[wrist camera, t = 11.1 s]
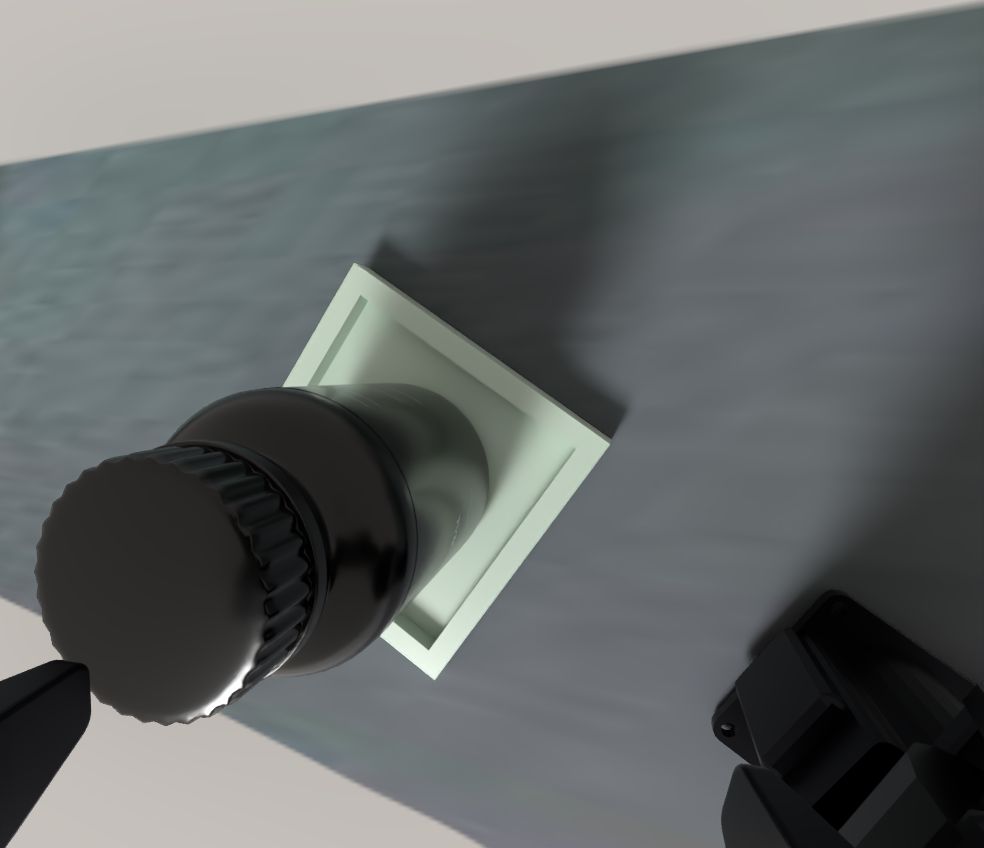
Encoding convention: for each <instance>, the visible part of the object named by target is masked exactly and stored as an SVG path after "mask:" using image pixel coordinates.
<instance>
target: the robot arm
mask: <svg viewBox="0 0 984 848" xmlns="http://www.w3.org/2000/svg"><path fill="white" fill-rule="evenodd" d="M836 602H843V603H844V608H843V610H841V611H840V612H832V611H831V607H832V605H833V604H835V603H836ZM735 686H736V690H735V691H734V692H733V694H732V695H731V696H730V697H729V698H728V699H727V700H726V701H725V702H724V703H723V705H722V706H721V707H720V708H719V709H718V710H717V711H716V712H715V713H714V715H713V717H712V728H713V731H714V734H715V736H716V737H717V738H718V739H719V740H720V741H721V742H722V743H723V744H725V745H726V746H727V747H729V748H730V749H731V750H733V751H734V752H735V753H737V754H738V755H739V756H740V757H742V758H743V759H744V760H746V761H747V762H748V763H750V764H751V765H749V764H739V765H737V766H736V768H735V769H734V772H733V774H732V778H731V781H730V785H729V788H728V791H727V795H726V798H725V802H724V805H723V809H722V815H721V825H722V832H723V837H724V842H725V847H726V848H984V686H982V685H981V684H978V683H977V684H974V683H973V682H972V681H970V680H969V679H967V678H966V677H964V676H963V675H962V674H960V673H959V672H957V671H956V670H955V669H953V668H952V667H950V666H949V665H947V664H946V663H945V662H943V661H942V660H940V659H939V658H937V657H936V656H935V655H933V654H932V653H930V652H929V651H928V650H926V649H925V648H923V647H922V646H920V645H919V644H918V643H916V642H915V641H913V640H912V639H911V638H909V637H908V636H906V635H905V634H903V633H902V632H901V631H899V630H898V629H896V628H895V627H893V626H892V625H891V624H889V623H888V622H886V621H885V620H884V619H882V618H881V617H879V616H878V615H876V614H875V613H874V612H872V611H871V610H869V609H868V608H866V607H865V606H864V605H862V604H861V603H859V602H858V601H857V600H855V599H854V598H852V597H851V596H849V595H848V594H847V593H845V592H843V591H840V590H830V591H827V592H825V593H824V594H823V595H822V596H821V597H820V598H819V599H818V600H817V601H816V602H815V603H814V604H813V605H812V607H811V608H810V609H809V610H808V611H807V612H806V613H805V614H804V615H803V616H802V618H801V619H800V620H799V621H798V622H797V623H796V624H795V625H794V626H793V628H792V629H786V630H782V631H780V633H779V634H778V635H777V636H776V637H775V638H774V639H773V640H772V641H771V642H770V644H769V645H768V646H767V647H766V648H765V649H764V650H763V651H762V652H761V654H760V655H759V656H758V657H757V658H756V659H755V660H754V661H753V662H752V664H751V665H750V666H749V667H748V668H747V669H746V670H745V671H744V672H743V673H742V675H741V676H740V677H739V678H738V679H737V680H736V682H735ZM90 716H91V695H90V673H89V669H88V667H87V666H86V665H85V664H83V663H78V662H72V661H65V660H53V661H50V662H47V663H45V664H42V665H40V666H37V667H35V668H32V669H30V670H27V671H25V672H22V673H20V674H17V675H15V676H12V677H9V678H7V679H4V680H2V681H0V848H5V847H6V846H7V845H8V843H9V842H10V841H11V839H12V838H13V836H14V835H15V834H16V832H17V831H18V829H19V827H20V826H21V825H22V824H23V822H24V821H25V819H26V818H27V816H28V815H29V813H30V812H31V810H32V809H33V807H34V806H35V804H36V803H37V801H38V800H39V799H40V797H41V796H42V794H43V793H44V791H45V790H46V788H47V787H48V785H49V784H50V782H51V781H52V779H53V778H54V777H55V775H56V774H57V772H58V771H59V769H60V768H61V766H62V765H63V763H64V761H65V760H66V759H67V757H68V756H69V754H70V753H71V751H72V750H73V749H74V747H75V745H76V744H77V743H78V741H79V740H80V738H81V737H82V735H83V734H84V732H85V730H86V728H87V726H88V724H89V721H90ZM725 723H731V724H733V725H734V727H733V728H732V729H730V730H725V729H723V728H721V726H722V725H723V724H725Z"/></svg>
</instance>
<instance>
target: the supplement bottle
mask: <svg viewBox="0 0 984 848" xmlns="http://www.w3.org/2000/svg"><path fill="white" fill-rule="evenodd" d="M488 492H489V468H488V462H487V458H486V454H485V450H484V447H483V445H482V442H481V440H480V438H479V436H478V434H477V432H476V430H475V429H474V427H473V425H472V424H471V423H470V421H469V420H468V418H467V417H466V416H465V415H464V414H463V413H462V412H461V411H460V410H459V409H458V408H457V407H456V406H455V405H454V404H452V403H451V402H450V401H449V400H447V399H446V398H444V397H442V396H441V395H439V394H437V393H435V392H433V391H431V390H428V389H425V388H423V387H419V386H415V385H410V384H403V383H371V384H346V385H322V386H297V387H277V388H263V389H256V390H250V391H244V392H239V393H236V394H233V395H229V396H227V397H224V398H222V399H219V400H217V401H215V402H213V403H211V404H209V405H208V406H206V407H204V408H202V409H201V410H200V411H198V412H197V413H196V414H194V415H193V416H191V417H190V418H189V419H188V420H187V421H186V422H185V423H184V424H182V425H181V426H180V427H179V428H178V429H177V431H176V432H175V433H174V434H173V435H172V436H171V437H170V439H169V440H168V441H167V443H166V444H165V445H163V446H160V447H157V448H155V449H153V450H148V451H142V452H136V453H132V454H129V455H124V456H118V457H113V458H110V459H107V460H104V461H103V462H102V463H101V464H99V465H98V466H97V467H92V468H89V469H87V470H84V471H83V472H82V474H81V475H80V477H79V478H78V480H77V481H74V482H72V483H70V484H68V485H66V487H65V489H64V492H63V495H62V497H60V498H59V499H57V500H56V501H55V502H53V504H52V508H51V512H50V516H49V517H48V518H47V519H46V520H45V521H44V523H43V525H42V537H41V539H40V541H39V542H38V544H37V546H36V550H37V559H38V561H37V564H36V567H35V571H34V572H35V576H36V580H37V583H38V589H37V599H38V601H39V603H40V606H41V608H42V618H43V622H44V624H45V626H46V627H47V629H48V631H49V632H50V635H51V641H52V645H53V646H54V647H55V649H56V650H57V651H58V652H59V653H60V654H61V656H62V659H63V660H65V661H72V662H78V663H83V664H85V665H86V666H87V667H88V669H89V673H90V691H91V692H92V693H93V694H94V695H95V696H96V698H97V699H98V700H99V701H100V702H101V703H103V704H106V705H110V706H112V707H113V708H114V709H116V711H117V712H119V713H120V714H121V715H127V716H133V717H135V718H137V719H138V720H139V721H141V722H144V723H147V722H153V721H154V722H157V723H159V724H162V725H164V726H168V725H170V724H173V723H174V722H178V723H183V724H190V723H192V722H194V721H195V720H197V719H198V718H199V717H202V718H205V717H211V716H213V715H215V714H216V713H218V712H219V711H221V710H222V709H223V708H224V707H225V706H228V705H230V704H232V703H234V702H236V701H237V700H238V699H240V698H241V697H242V696H243V695H245V694H246V693H247V692H248V691H249V690H250V689H252V688H253V687H254V686H255V685H256V684H257V683H259V682H260V681H262V680H264V679H266V678H267V677H299V676H305V675H311V674H315V673H319V672H323V671H326V670H329V669H331V668H334V667H336V666H339V665H341V664H342V663H344V662H346V661H348V660H350V659H352V658H353V657H355V656H356V655H357V654H359V653H360V652H362V651H363V650H364V649H365V648H366V647H368V646H369V645H370V644H371V643H372V642H373V641H374V640H376V639H377V638H378V637H379V636H380V635H381V634H382V633H383V632H384V631H385V630H386V629H387V628H388V627H389V625H390V624H391V623H392V622H393V621H394V620H395V619H396V618H397V617H398V616H399V615H400V614H401V612H402V611H403V610H404V609H405V608H406V607H407V606H408V605H409V604H410V603H411V602H412V601H413V599H414V598H415V597H416V596H417V595H418V594H419V593H420V592H421V591H422V590H423V589H424V588H425V586H426V585H427V584H428V583H429V582H430V581H431V580H432V579H433V578H434V577H435V576H436V575H437V573H438V572H439V571H440V570H441V569H442V568H443V567H444V566H445V565H446V564H447V563H448V562H449V561H450V559H451V558H452V557H453V556H454V555H455V554H456V553H457V552H458V551H459V550H460V549H461V547H462V546H463V545H464V544H465V543H466V541H467V540H468V539H469V538H470V536H471V535H472V534H473V532H474V530H475V529H476V527H477V525H478V524H479V522H480V520H481V517H482V515H483V512H484V510H485V507H486V503H487V498H488Z"/></svg>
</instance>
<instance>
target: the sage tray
mask: <svg viewBox="0 0 984 848" xmlns="http://www.w3.org/2000/svg"><path fill="white" fill-rule="evenodd" d="M371 383H403V384H410V385H415V386H419V387H423V388H425V389H428V390H431V391H433V392H435V393H437V394H439V395H441V396H442V397H444V398H446V399H447V400H449V401H450V402H451V403H452V404H454V405H455V406H456V407H457V408H458V409H459V410H460V411H461V412H462V413H463V414H464V415H465V416H466V417H467V418H468V420H469V421H470V423H471V424H472V425H473V427H474V429H475V430H476V432H477V434H478V436H479V438H480V440H481V442H482V445H483V447H484V450H485V454H486V458H487V462H488V468H489V492H488V498H487V503H486V507H485V510H484V512H483V515H482V517H481V520H480V522H479V524H478V525H477V527H476V529H475V530H474V532H473V534H472V535H471V536H470V538H469V539H468V540H467V541H466V543H465V544H464V545H463V546H462V547H461V549H460V550H459V551H458V552H457V553H456V554H455V555H454V556H453V557H452V558H451V559H450V561H449V562H448V563H447V564H446V565H445V566H444V567H443V568H442V569H441V570H440V571H439V572H438V573H437V575H436V576H435V577H434V578H433V579H432V580H431V581H430V582H429V583H428V584H427V585H426V586H425V588H424V589H423V590H422V591H421V592H420V593H419V594H418V595H417V596H416V597H415V598H414V599H413V601H412V602H411V603H410V604H409V605H408V606H407V607H406V608H405V609H404V610H403V611H402V612H401V614H400V615H399V616H398V617H397V618H396V619H395V620H394V621H393V622H392V623H391V624H390V625H389V627H388V628H387V629H386V630H385V631H384V632H383V633H382V634H381V635H380V636H381V637H382V638H383V639H384V640H386V641H387V642H388V643H389V644H391V645H392V646H393V647H394V648H396V649H397V650H398V651H399V652H400V653H402V654H403V655H404V656H405V657H407V658H408V659H409V660H410V661H412V662H413V663H414V664H415V665H416V666H418V667H419V668H420V669H421V670H423V671H424V672H425V673H426V674H428V675H429V676H430V677H431V678H433V679H434V680H435V679H436V677H437V676H438V675H439V673H440V672H441V671H442V669H443V668H444V667H445V665H446V664H447V663H448V661H449V660H450V659H451V657H452V656H453V655H454V653H455V652H456V651H457V649H458V648H459V647H460V645H461V644H462V643H463V641H464V640H465V639H466V637H467V636H468V635H469V633H470V632H471V631H472V629H473V628H474V626H475V625H476V624H477V622H478V621H479V620H480V618H481V617H482V616H483V614H484V613H485V612H486V610H487V609H488V608H489V606H490V605H491V604H492V602H493V601H494V600H495V598H496V597H497V596H498V594H499V593H500V592H501V590H502V589H503V588H504V586H505V585H506V584H507V582H508V581H509V580H510V578H511V577H512V576H513V574H514V573H515V571H516V570H517V569H518V567H519V566H520V565H521V563H522V562H523V561H524V559H525V558H526V557H527V555H528V554H529V553H530V551H531V550H532V549H533V547H534V546H535V545H536V543H537V542H538V541H539V539H540V538H541V537H542V535H543V534H544V533H545V531H546V530H547V529H548V527H549V526H550V525H551V523H552V522H553V521H554V519H555V518H556V517H557V515H558V514H559V512H560V511H561V510H562V508H563V507H564V506H565V504H566V503H567V502H568V500H569V499H570V498H571V496H572V495H573V494H574V492H575V491H576V490H577V488H578V487H579V486H580V484H581V483H582V482H583V480H584V479H585V478H586V476H587V475H588V474H589V472H590V471H591V470H592V468H593V467H594V466H595V464H596V463H597V462H598V460H599V459H600V457H601V456H602V455H603V453H604V452H605V451H606V449H607V448H608V447H609V445H610V444H611V439H610V438H609V437H607V436H606V435H604V434H603V433H601V432H600V431H599V430H597V429H596V428H594V427H593V426H592V425H590V424H589V423H587V422H586V421H584V420H583V419H582V418H580V417H579V416H577V415H576V414H575V413H573V412H572V411H570V410H569V409H568V408H566V407H565V406H563V405H562V404H560V403H559V402H558V401H556V400H555V399H553V398H552V397H551V396H549V395H548V394H546V393H545V392H543V391H542V390H541V389H539V388H538V387H536V386H535V385H534V384H532V383H531V382H529V381H528V380H527V379H525V378H524V377H522V376H521V375H519V374H518V373H517V372H515V371H514V370H512V369H511V368H510V367H508V366H507V365H505V364H504V363H502V362H501V361H500V360H498V359H497V358H495V357H494V356H493V355H491V354H490V353H488V352H487V351H486V350H484V349H483V348H481V347H480V346H478V345H477V344H476V343H474V342H473V341H471V340H470V339H469V338H467V337H466V336H464V335H463V334H461V333H460V332H459V331H457V330H456V329H454V328H453V327H452V326H450V325H449V324H447V323H446V322H445V321H443V320H442V319H440V318H439V317H437V316H436V315H435V314H433V313H432V312H430V311H429V310H428V309H426V308H425V307H423V306H422V305H420V304H419V303H418V302H416V301H415V300H413V299H412V298H411V297H409V296H408V295H406V294H405V293H404V292H402V291H401V290H399V289H398V288H396V287H395V286H394V285H392V284H391V283H389V282H388V281H387V280H385V279H384V278H382V277H381V276H379V275H378V274H377V273H375V272H374V271H372V270H371V269H370V268H367V267H364V266H362V265H359V264H356V263H354V264H353V266H352V268H351V269H350V271H349V273H348V274H347V276H346V278H345V280H344V281H343V283H342V285H341V287H340V288H339V290H338V292H337V294H336V295H335V297H334V299H333V300H332V302H331V304H330V306H329V307H328V309H327V311H326V313H325V314H324V316H323V318H322V320H321V321H320V323H319V325H318V326H317V328H316V330H315V332H314V333H313V335H312V337H311V339H310V340H309V342H308V344H307V346H306V347H305V349H304V351H303V352H302V354H301V356H300V358H299V359H298V361H297V363H296V365H295V366H294V368H293V370H292V372H291V373H290V375H289V377H288V378H287V380H286V382H285V384H284V385H283V387H297V386H322V385H346V384H371Z"/></svg>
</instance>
